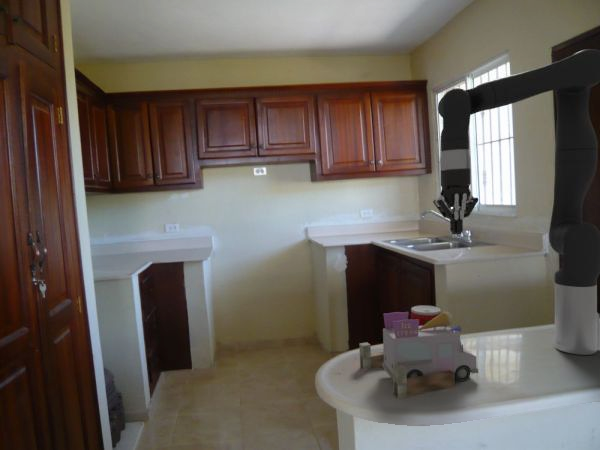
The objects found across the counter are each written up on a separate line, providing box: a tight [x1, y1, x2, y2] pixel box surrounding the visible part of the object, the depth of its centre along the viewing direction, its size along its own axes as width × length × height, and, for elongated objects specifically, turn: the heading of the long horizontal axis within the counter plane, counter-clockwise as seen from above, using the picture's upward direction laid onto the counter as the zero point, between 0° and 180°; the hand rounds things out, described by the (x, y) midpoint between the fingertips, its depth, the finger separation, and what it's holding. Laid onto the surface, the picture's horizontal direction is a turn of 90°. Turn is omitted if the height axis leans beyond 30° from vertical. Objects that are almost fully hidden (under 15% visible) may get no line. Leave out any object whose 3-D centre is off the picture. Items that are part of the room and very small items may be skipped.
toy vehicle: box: [381, 311, 479, 382], centre depth 99 cm, size 9×20×15 cm, turn 97°
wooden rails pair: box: [359, 341, 456, 399], centre depth 101 cm, size 14×18×6 cm
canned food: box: [410, 304, 442, 326], centre depth 118 cm, size 8×8×11 cm
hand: (456, 233), depth 116 cm, fingers closed
